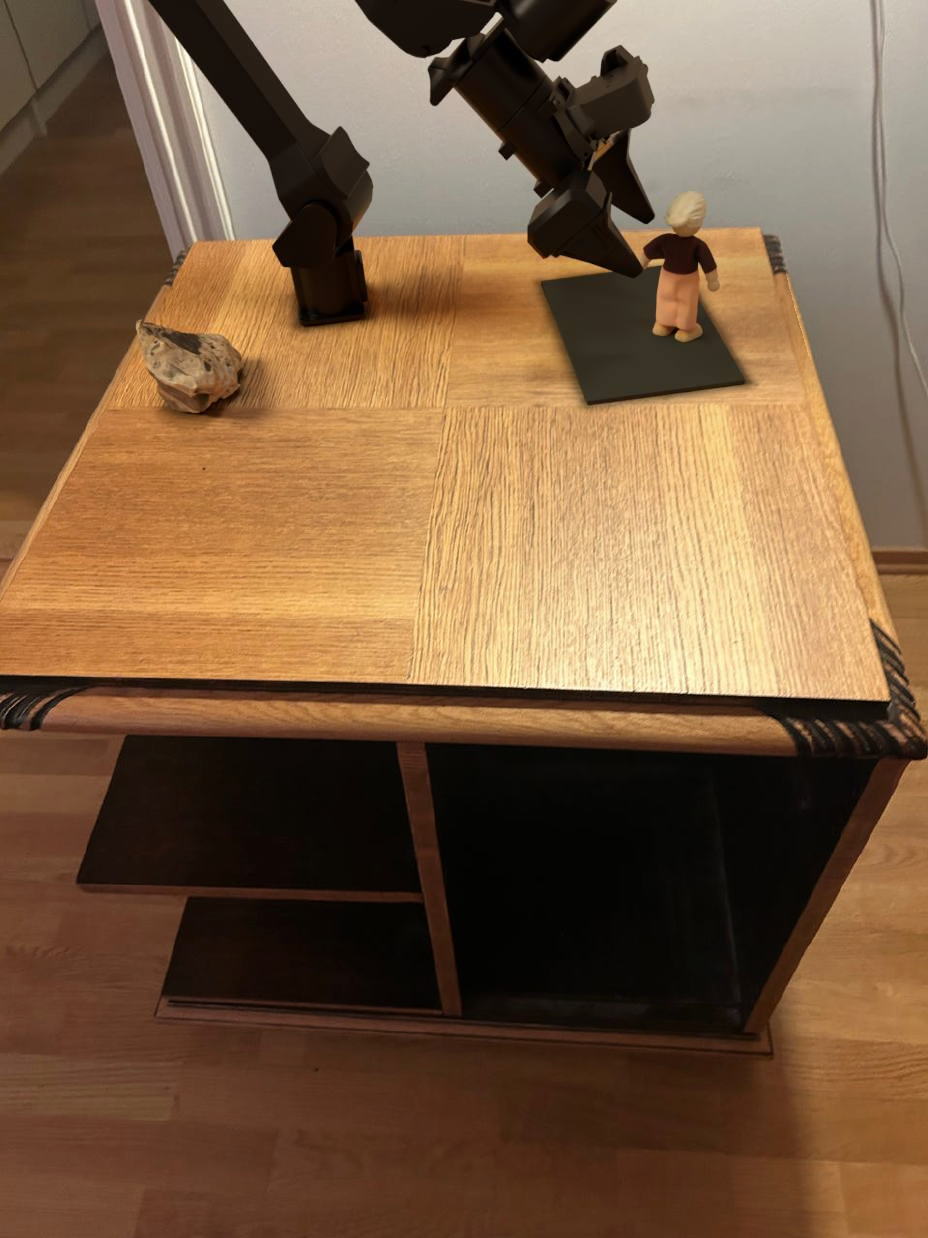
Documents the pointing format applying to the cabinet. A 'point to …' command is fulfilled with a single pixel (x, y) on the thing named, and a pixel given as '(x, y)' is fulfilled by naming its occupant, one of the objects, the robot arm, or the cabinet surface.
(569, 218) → the robot arm
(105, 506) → the cabinet surface
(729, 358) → the mat
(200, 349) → the rock
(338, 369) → the cabinet surface
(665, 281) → the grandmother figurine
